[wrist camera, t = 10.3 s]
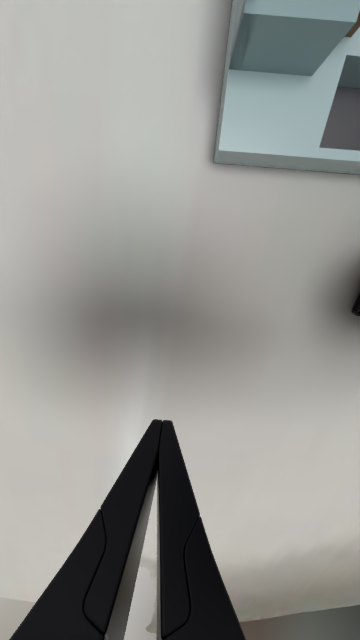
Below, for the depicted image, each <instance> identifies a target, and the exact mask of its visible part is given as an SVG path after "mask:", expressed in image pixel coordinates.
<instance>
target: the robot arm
mask: <svg viewBox="0 0 360 640" xmlns="http://www.w3.org/2000/svg"><path fill="white" fill-rule="evenodd" d="M359 310H360V295H359V297H358V299H357V301H356V303H355V305H354V307H353V309H352V313H353V314H355V315H357V316H360V311H359ZM358 311H359V312H358ZM157 474H158V479H157ZM156 481H157V640H246V638H245V636H244V633H243V631H242V628H241V626H240V623H239V621H238V618H237V616H236V613H235V610H234V608H233V605H232V603H231V600H230V598H229V595H228V593H227V590H226V588H225V585H224V583H223V580H222V578H221V575H220V572H219V570H218V567H217V564H216V562H215V559H214V556H213V554H212V551H211V548H210V544H209V541H208V538H207V535H206V532H205V529H204V526H203V522H202V519H201V517H200V513H199V509H198V506H197V503H196V499H195V496H194V493H193V489H192V486H191V483H190V479H189V476H188V473H187V469H186V466H185V463H184V459H183V456H182V453H181V449H180V446H179V443H178V439H177V436H176V433H175V429H174V426H173V423H172V421H170V420H163V422H162V420H157V419H154V420H153V421H152V422H151V424H150V425H149V427H148V429H147V430H146V432H145V434H144V435H143V437H142V439H141V440H140V442H139V444H138V445H137V447H136V449H135V450H134V452H133V454H132V455H131V457H130V459H129V460H128V462H127V464H126V465H125V467H124V469H123V470H122V472H121V474H120V475H119V477H118V479H117V480H116V482H115V484H114V485H113V487H112V489H111V490H110V492H109V494H108V495H107V497H106V499H105V500H104V502H103V504H102V505H101V509H99V510H98V512H97V513H96V515H95V517H94V518H93V520H92V522H91V523H90V525H89V526H88V528H87V530H86V531H85V533H84V534H83V536H82V538H81V539H80V541H79V542H78V544H77V545H76V547H75V548H74V550H73V551H72V553H71V554H70V555H69V557H68V558H67V560H66V561H65V563H64V564H63V566H62V567H61V568H60V570H59V571H58V573H57V574H56V575H55V577H54V578H53V580H52V581H51V582H50V584H49V585H48V587H47V588H46V589H45V591H44V592H43V594H42V595H41V596H40V598H39V599H38V601H37V602H36V603H35V605H34V606H33V608H32V609H31V610H30V612H29V613H28V615H27V616H26V617H25V619H24V620H23V622H22V623H21V624H20V626H19V627H18V629H17V630H16V631H15V633H14V634H13V636H12V637H11V638H10V639H9V640H124V635H125V631H126V626H127V621H128V616H129V611H130V607H131V601H132V597H133V592H134V587H135V582H136V577H137V572H138V568H139V563H140V558H141V553H142V549H143V544H144V539H145V534H146V529H147V524H148V520H149V515H150V510H151V505H152V500H153V496H154V491H155V486H156Z"/></svg>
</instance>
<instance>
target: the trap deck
mask: <svg viewBox="0 0 360 640" xmlns="http://www.w3.org/2000/svg"><path fill="white" fill-rule="evenodd" d="M359 11H360V0H232V9H231V18H230V26H229V35H228V43H227V52H226V60H225V69H224V78H223V86H222V95H221V103H220V112H219V120H218V129H217V138H216V146H215V155H214V163H222V164H235V165H247V166H260V167H272V168H285V169H297V170H310V171H322V172H334V173H347V174H359V175H360V27H359V28H358V30H357V31H356V32H355V33H354V34H353V35H352V37H351V38H350V37H344V36H345V35H346V34H347V33H348V32H349V30H350V29H351V28H352V27H353V26H354V24H355V23H356V21H357V18H358V14H359Z"/></svg>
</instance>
